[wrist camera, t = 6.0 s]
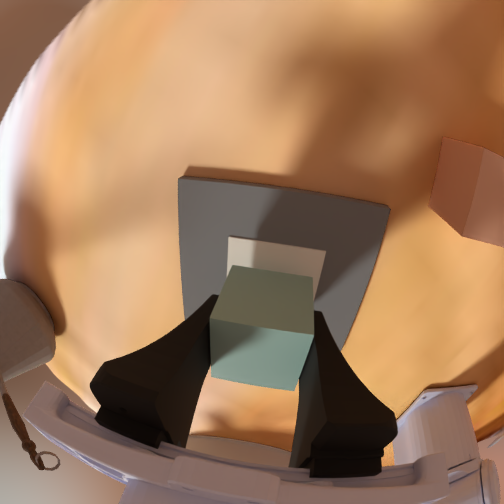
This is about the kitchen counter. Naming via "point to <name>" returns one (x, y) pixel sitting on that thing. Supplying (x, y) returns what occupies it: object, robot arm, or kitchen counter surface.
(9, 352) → the coffee pot
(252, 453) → the kettle
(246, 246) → the grey flat square plate
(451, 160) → the top block
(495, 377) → the kitchen counter surface
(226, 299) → the base block
